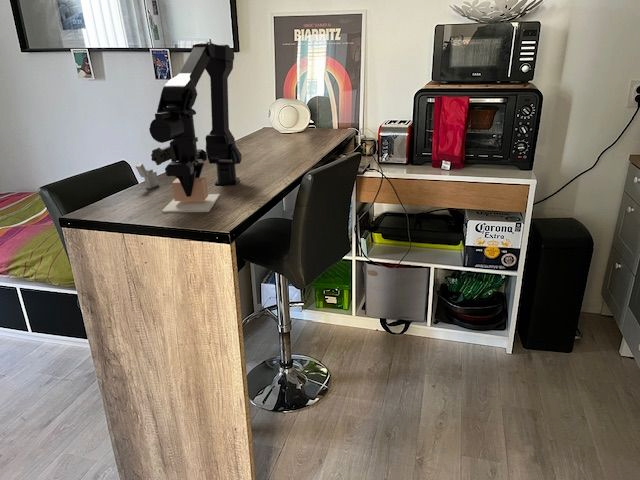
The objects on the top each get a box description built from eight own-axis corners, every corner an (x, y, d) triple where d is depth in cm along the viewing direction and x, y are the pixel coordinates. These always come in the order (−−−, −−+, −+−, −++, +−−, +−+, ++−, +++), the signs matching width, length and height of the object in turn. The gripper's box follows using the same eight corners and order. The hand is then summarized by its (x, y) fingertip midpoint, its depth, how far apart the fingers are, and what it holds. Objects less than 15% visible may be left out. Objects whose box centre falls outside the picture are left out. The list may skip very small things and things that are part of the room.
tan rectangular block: (208, 195, 136) (206, 177, 134) (204, 200, 132) (202, 182, 130) (179, 196, 137) (176, 178, 135) (174, 201, 132) (171, 182, 130)
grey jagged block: (154, 184, 154) (150, 158, 151) (158, 184, 154) (154, 159, 151) (139, 190, 148) (134, 164, 145) (144, 191, 148) (139, 164, 145)
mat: (177, 196, 142) (177, 194, 141) (219, 195, 141) (219, 194, 141) (162, 212, 129) (162, 210, 128) (208, 211, 128) (208, 209, 128)
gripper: (163, 129, 137) (171, 184, 143) (139, 143, 120) (149, 205, 125) (204, 128, 137) (210, 184, 142) (186, 141, 119) (193, 204, 125)
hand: (191, 193), depth 134 cm, fingers closed on tan rectangular block, 4 cm apart
